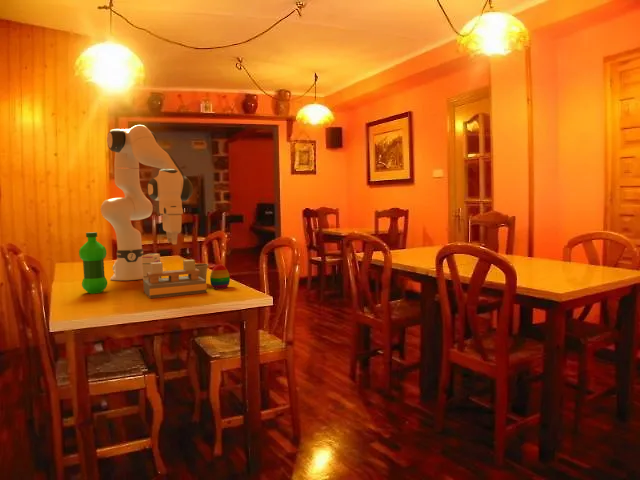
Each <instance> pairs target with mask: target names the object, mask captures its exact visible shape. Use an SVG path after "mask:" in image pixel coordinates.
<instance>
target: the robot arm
mask: <svg viewBox="0 0 640 480" xmlns="http://www.w3.org/2000/svg"><path fill="white" fill-rule="evenodd" d="M157 138H158V137H157V135H156V134H155V132H153V131H151V130H150V129H149V128H148V127H147V126H145V125H143V124H137V125H134V126H132V127H131V128H125V129H124V128H121V129H120V128H114V129H110V130H109V132H108V133H107V137H106V143H107V147H108V149H109V150H110V151H111V152H114V153H115V154H114V184H115V186H116V187H117V188H119V189H120V190H121V191H122V192H123V195H124V197H113V198H109V199H105V200H104V201H103V202H101V203H102V204H101V206H100V213H101V216H102V217H103V219H105V220H106V221H108V223H110V224H111V226H112V227H113V230H114V232H115V237H116V247H117V250H116V260H115V261H114V264H113V266H112V271H113V275H112V276H111V277H110V281H136V280H143V270H142V255H144V249H143V245H142V233H141V232H140V230H138V229H137V228H135V227H134V226H133V224H132V221H140V220H144V219H147V218H149V217H151V216H152V213H153V209H154V207H153V206H154V205H153V204H152V202H151V200H152V201H158V206H159V207H158V208H159V209H158V210H159V211H158V213H159V214H161V215H162V230H163V231H164V232H165V234H166V238H167V242H168V243H171V244H172V245H177V244H178V235H179V234H180V233H181V231H182V223H183V221H182V219H183V218H182V215H183V214H184V209H183V204H182V203H183V202H187V201H188V200H189V199H190V198H191V197H192V196H193V194H194V186H193V183H192V182H191V180H190V179H189V178H188V177H187V176H186V174H184V172H183V171H182V169H181V168H180V167H179V165H178V164H177V162H176V161H175V159H174V157H173V156H172V155H171V154H170V153H168V152H167V151H165V150H164V149H163V148H162V146H160V145H159V144H158V139H157ZM140 164H142V165H143V166H148V167H153V168H157V169H159V171H158V175H156V176H155V177H152V178H151V179H150V180H149V181H148V182H147V186H146V188H147V189H146V190H147V195H148V197H149V198H150V199H151V200H150V199H149V198H147V196H146V195H145V194H144V192H143V190H142V186H141V182H140V181H141V180H140Z"/></svg>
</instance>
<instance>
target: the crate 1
mask: <svg viewBox="0 0 640 480" xmlns="http://www.w3.org/2000/svg"><path fill="white" fill-rule="evenodd" d="M150 264H151V273H152V274H157V273H163V271H164V269H163V262H161V261H160V262H154V263H150Z"/></svg>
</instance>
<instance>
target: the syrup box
mask: <svg viewBox="0 0 640 480" xmlns="http://www.w3.org/2000/svg"><path fill="white" fill-rule="evenodd" d="M160 254H161V253H147V254H143V255H142V270H143V279H142V280H148V276H147V273H149V272H151V264H150V263H154V262H161V255H160ZM160 278H162V276H161V277H158V279H160ZM142 282H143V281H142ZM143 285H144V282H143Z"/></svg>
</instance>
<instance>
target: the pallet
mask: <svg viewBox="0 0 640 480" xmlns="http://www.w3.org/2000/svg"><path fill="white" fill-rule="evenodd" d="M199 273H200V270H198V269H195V270H192V271H185V270H184V269H176V270H173V269H172V270H163V273H157V274H152V273H151V272H149V273H147V276H148V280H149V282H150V283H159V279H158V277H161V278H162V277H168V278H169V280H170V281H179V277H180V275H183V276H184V275H187V276H188V278H190V279H191V280H193V279H199Z"/></svg>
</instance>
